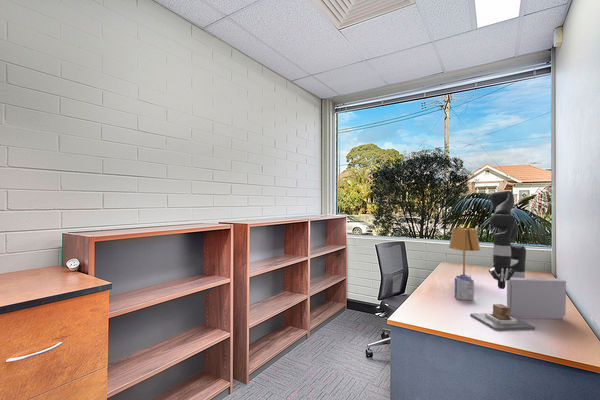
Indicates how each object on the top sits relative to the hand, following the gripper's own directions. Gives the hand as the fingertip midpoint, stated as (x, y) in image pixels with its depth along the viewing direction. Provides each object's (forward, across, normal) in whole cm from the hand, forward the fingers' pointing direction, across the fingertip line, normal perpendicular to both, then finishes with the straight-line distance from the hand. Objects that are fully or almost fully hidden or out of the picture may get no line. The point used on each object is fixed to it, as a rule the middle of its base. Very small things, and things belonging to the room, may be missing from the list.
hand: (501, 288), depth 150 cm
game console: (+17, -25, -6) cm, 31 cm away
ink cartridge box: (+17, -5, -36) cm, 40 cm away
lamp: (+17, -29, -71) cm, 79 cm away
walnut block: (+16, 0, 0) cm, 16 cm away
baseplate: (+17, 0, 0) cm, 17 cm away
